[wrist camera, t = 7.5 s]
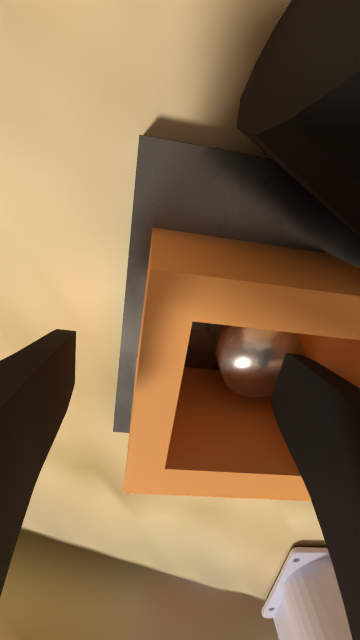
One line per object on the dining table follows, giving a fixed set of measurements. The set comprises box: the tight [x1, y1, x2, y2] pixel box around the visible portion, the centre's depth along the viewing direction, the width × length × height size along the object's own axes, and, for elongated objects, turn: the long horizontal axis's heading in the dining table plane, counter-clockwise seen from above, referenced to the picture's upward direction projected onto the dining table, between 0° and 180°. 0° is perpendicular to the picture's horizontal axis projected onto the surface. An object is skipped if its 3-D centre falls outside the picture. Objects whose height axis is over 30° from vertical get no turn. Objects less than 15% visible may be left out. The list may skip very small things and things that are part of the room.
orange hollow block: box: [123, 228, 360, 501], centre depth 12 cm, size 8×8×6 cm
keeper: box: [113, 135, 360, 433], centre depth 14 cm, size 14×11×4 cm
